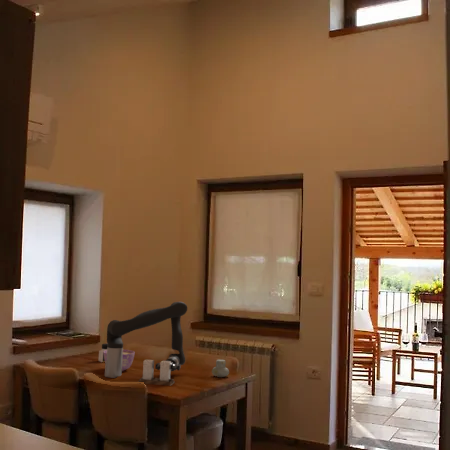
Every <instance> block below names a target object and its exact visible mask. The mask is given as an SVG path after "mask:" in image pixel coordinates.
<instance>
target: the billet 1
mask: <svg viewBox="0 0 450 450" xmlns="http://www.w3.org/2000/svg"><path fill="white" fill-rule="evenodd" d="M142 363H143V364H142V365H143V367H142V377H143V380H151V381H153V378H154V369H155V359H144V360H143V362H142Z"/></svg>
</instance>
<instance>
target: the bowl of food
mask: <svg viewBox="0 0 450 450" xmlns="http://www.w3.org/2000/svg"><path fill="white" fill-rule="evenodd" d="M135 353H136V352H135V351H134V350H129V349H123V356H122V372H125V370H127V369H129V368H130V367H132V364H133V361H134V358H135V355H136V354H135ZM103 354H104V360H105V361H106V360H107V350H105V351H103Z"/></svg>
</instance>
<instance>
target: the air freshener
mask: <svg viewBox="0 0 450 450" xmlns="http://www.w3.org/2000/svg"><path fill="white" fill-rule="evenodd" d="M211 373H212V375H213V376H215V377H216V376H217V377H216V378H225V377H227V376H228V375H229V374H230V371H229V368H227V367H226V360H225V359H216V363H215V366H214V367H213V368H212V369H211Z"/></svg>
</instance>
